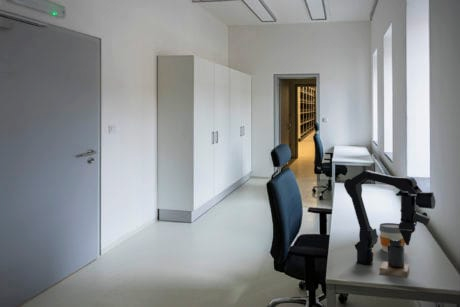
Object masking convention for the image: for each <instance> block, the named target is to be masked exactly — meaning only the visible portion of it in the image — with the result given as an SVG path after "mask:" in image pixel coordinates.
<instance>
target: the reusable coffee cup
mask: <svg viewBox="0 0 460 307" xmlns="http://www.w3.org/2000/svg"><path fill="white" fill-rule="evenodd" d="M378 229H379V233H380V234H379V239H380V245H381V247H382V248H381V249H382V251H384V252H385V253H388V252H387V247H388V245H389V244H390V238H399V239H401V242H402V244H401V245H402V246H403V247H404V248H405V246H406V244H405V241H404V239H403V237H402V235H401V232H400V231H399V223H395V222H385V223H384V222H383V223H380V224H379V228H378Z"/></svg>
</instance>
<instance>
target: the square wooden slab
mask: <svg viewBox="0 0 460 307" xmlns="http://www.w3.org/2000/svg"><path fill="white" fill-rule="evenodd" d="M409 272H410V264H408V263H407V264H406V263H405V266H404V267H403V268H392V267H389V266H388V261H382V262H381V264H380V266H379V274H382V275H383V274H384V275H390V276H397V277H407V278H408V275H409Z"/></svg>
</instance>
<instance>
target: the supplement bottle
mask: <svg viewBox="0 0 460 307" xmlns="http://www.w3.org/2000/svg"><path fill="white" fill-rule="evenodd" d="M401 244H402V242H401V239H399V238H390V244H389V245H388V247H387V252H386V253H387V262H388V266H389V267H392V268H403V267H404V266H405V264H406V263H405V246H404V247H403V246H402V245H401Z"/></svg>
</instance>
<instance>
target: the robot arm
mask: <svg viewBox="0 0 460 307" xmlns="http://www.w3.org/2000/svg"><path fill="white" fill-rule="evenodd" d="M368 180H369V181H373V182H376V183H381V184H385V185H389V186H393V187H395V188H396V189H398V192H397V193H395V196H396V197H400V222H399V223H398V224H399V231H400V232H401V235H402V237H403V239H404V241H405V246H409V245H410V242H411V239H412V234H413V233H414V232H415V231H416V227H417V224H418V223H420V224H422V225H424V226H428V225H429V222H430V220H431V217H430V216H428V212H426V211H423V212H422V213H421V212H417V209H416V206H417V208H419V209H429V210H430V209H431V210H434V209H435V208H436V198H435V195H434V192H433V191H432V192H431V191H429V192H427V191H423V190H422V189H421V188H420V187H419V185H418V183H417V180H416V179H415V178H414V177H410V176H394V175H391V174H390V175H388V174H384V173H380V172H376V171H372V170H368V169H367V170H363V171H361V173H359V174H357V175H355V176H353V177H351V178H347V179H346V180H344V183H343V187H344V188H345V192H346V193H347V194H348V196H349V197H350V198H351V201H352V202H351V203H352V205H353V208H354V212H355V213H354V214H355V215H356V216H355V217H356V220H357V223H358V226H359V234H358V237H359V241H358V242H357V243H355V244H354V248H355V250H356V261H355V262H356V263H357V264H364V265H372V263H373V262H374V252H373V248H374V246H375V245H376V244H377V243H378V238H379V235H378V233H377V229H376V228H372V226H371V224H370V221H369V217H368V214H367V210H366V207H365V203H364V200H363V196H362V194H363V186H362V185H364V184H365V183H367V181H368Z"/></svg>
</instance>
